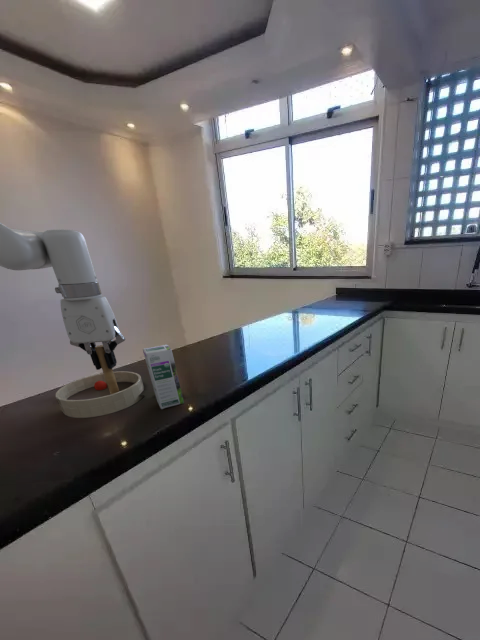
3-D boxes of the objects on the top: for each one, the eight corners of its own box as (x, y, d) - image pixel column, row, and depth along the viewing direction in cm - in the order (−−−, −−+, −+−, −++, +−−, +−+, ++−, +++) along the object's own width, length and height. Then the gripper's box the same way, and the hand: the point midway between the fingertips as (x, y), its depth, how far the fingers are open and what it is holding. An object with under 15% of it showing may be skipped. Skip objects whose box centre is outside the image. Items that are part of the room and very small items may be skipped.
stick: (109, 395, 81) (92, 347, 75) (112, 392, 83) (97, 345, 77) (118, 395, 81) (102, 347, 75) (121, 391, 83) (106, 344, 77)
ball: (91, 388, 83) (94, 392, 86) (104, 389, 84) (106, 393, 87) (94, 378, 85) (97, 382, 87) (107, 379, 86) (109, 384, 88)
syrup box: (160, 410, 76) (145, 353, 69) (156, 401, 80) (141, 347, 74) (184, 403, 79) (171, 348, 72) (179, 395, 83) (166, 343, 77)
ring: (45, 421, 73) (37, 404, 71) (85, 388, 90) (80, 374, 88) (129, 414, 75) (124, 397, 73) (154, 383, 92) (150, 369, 90)
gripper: (33, 295, 66) (65, 375, 75) (111, 291, 68) (134, 370, 76) (54, 291, 73) (81, 364, 81) (124, 287, 75) (144, 360, 83)
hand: (106, 366), depth 79 cm, fingers closed on stick, 2 cm apart
